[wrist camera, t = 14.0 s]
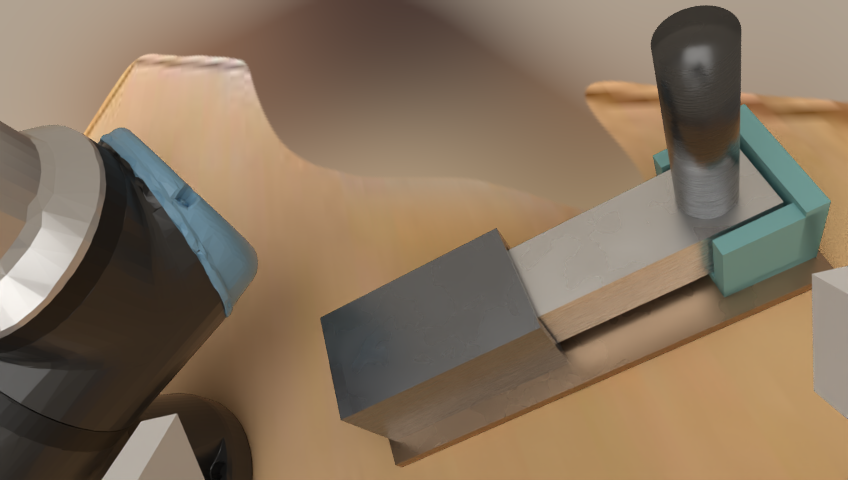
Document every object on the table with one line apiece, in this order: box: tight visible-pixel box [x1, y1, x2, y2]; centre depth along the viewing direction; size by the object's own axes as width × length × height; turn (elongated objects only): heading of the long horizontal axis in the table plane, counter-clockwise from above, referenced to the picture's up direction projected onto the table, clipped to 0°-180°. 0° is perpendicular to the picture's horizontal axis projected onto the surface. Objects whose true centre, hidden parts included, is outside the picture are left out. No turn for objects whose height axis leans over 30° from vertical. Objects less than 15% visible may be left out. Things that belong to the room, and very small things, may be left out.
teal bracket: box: [653, 104, 831, 298], centre depth 35 cm, size 6×7×6 cm
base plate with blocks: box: [320, 228, 834, 467], centre depth 37 cm, size 29×10×8 cm, turn 107°
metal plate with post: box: [508, 6, 784, 343], centre depth 31 cm, size 16×5×17 cm, turn 107°
